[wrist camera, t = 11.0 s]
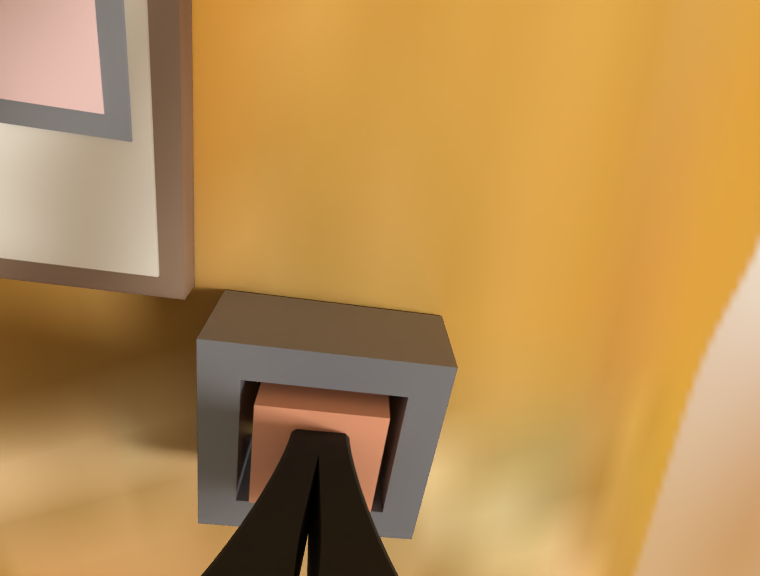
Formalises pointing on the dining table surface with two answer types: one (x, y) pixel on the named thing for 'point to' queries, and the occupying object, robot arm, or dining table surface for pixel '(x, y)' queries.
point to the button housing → (319, 370)
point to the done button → (318, 428)
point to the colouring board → (97, 144)
